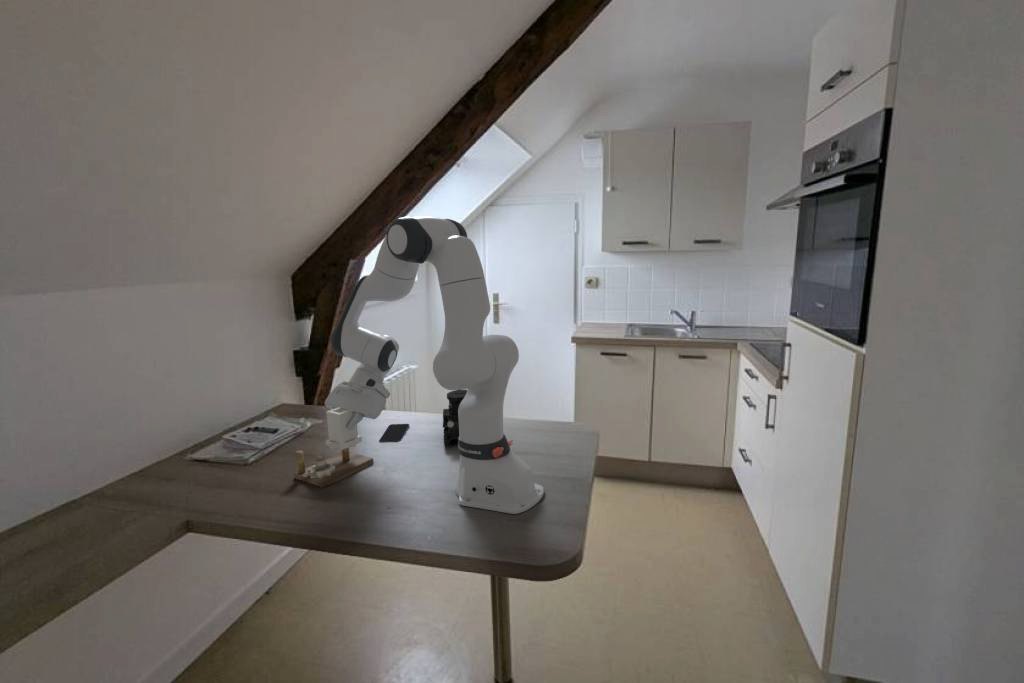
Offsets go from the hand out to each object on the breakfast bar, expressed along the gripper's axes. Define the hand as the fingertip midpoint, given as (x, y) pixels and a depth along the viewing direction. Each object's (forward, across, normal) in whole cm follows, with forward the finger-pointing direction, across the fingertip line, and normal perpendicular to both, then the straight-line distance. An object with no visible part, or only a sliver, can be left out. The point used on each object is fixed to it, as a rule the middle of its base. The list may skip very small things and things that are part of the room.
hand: (340, 426), depth 141 cm
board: (+11, 0, +6) cm, 12 cm away
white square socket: (+3, 0, +4) cm, 5 cm away
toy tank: (-15, +18, +32) cm, 40 cm away
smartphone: (-9, -6, +27) cm, 29 cm away
